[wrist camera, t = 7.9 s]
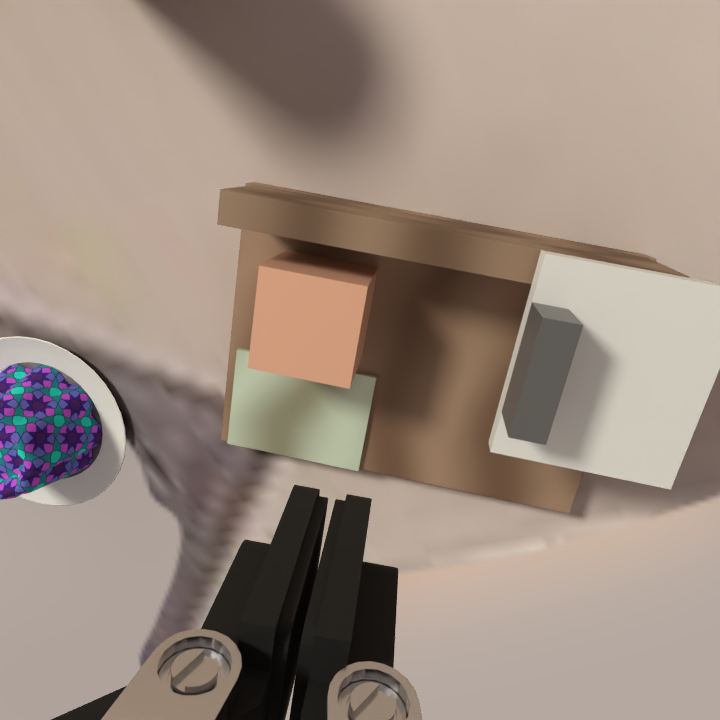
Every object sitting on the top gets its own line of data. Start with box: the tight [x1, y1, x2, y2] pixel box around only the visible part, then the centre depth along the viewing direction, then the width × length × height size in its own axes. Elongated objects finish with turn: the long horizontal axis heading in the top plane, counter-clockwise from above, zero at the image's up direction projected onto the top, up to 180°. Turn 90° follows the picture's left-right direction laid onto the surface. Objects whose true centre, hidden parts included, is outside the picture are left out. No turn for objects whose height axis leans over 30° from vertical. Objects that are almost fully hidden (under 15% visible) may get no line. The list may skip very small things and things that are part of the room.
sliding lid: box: [489, 250, 720, 490], centre depth 24 cm, size 8×9×4 cm
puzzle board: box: [217, 182, 689, 513], centre depth 30 cm, size 21×15×7 cm
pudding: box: [0, 336, 126, 506], centre depth 36 cm, size 12×12×5 cm
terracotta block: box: [248, 250, 378, 389], centre depth 29 cm, size 5×5×5 cm
